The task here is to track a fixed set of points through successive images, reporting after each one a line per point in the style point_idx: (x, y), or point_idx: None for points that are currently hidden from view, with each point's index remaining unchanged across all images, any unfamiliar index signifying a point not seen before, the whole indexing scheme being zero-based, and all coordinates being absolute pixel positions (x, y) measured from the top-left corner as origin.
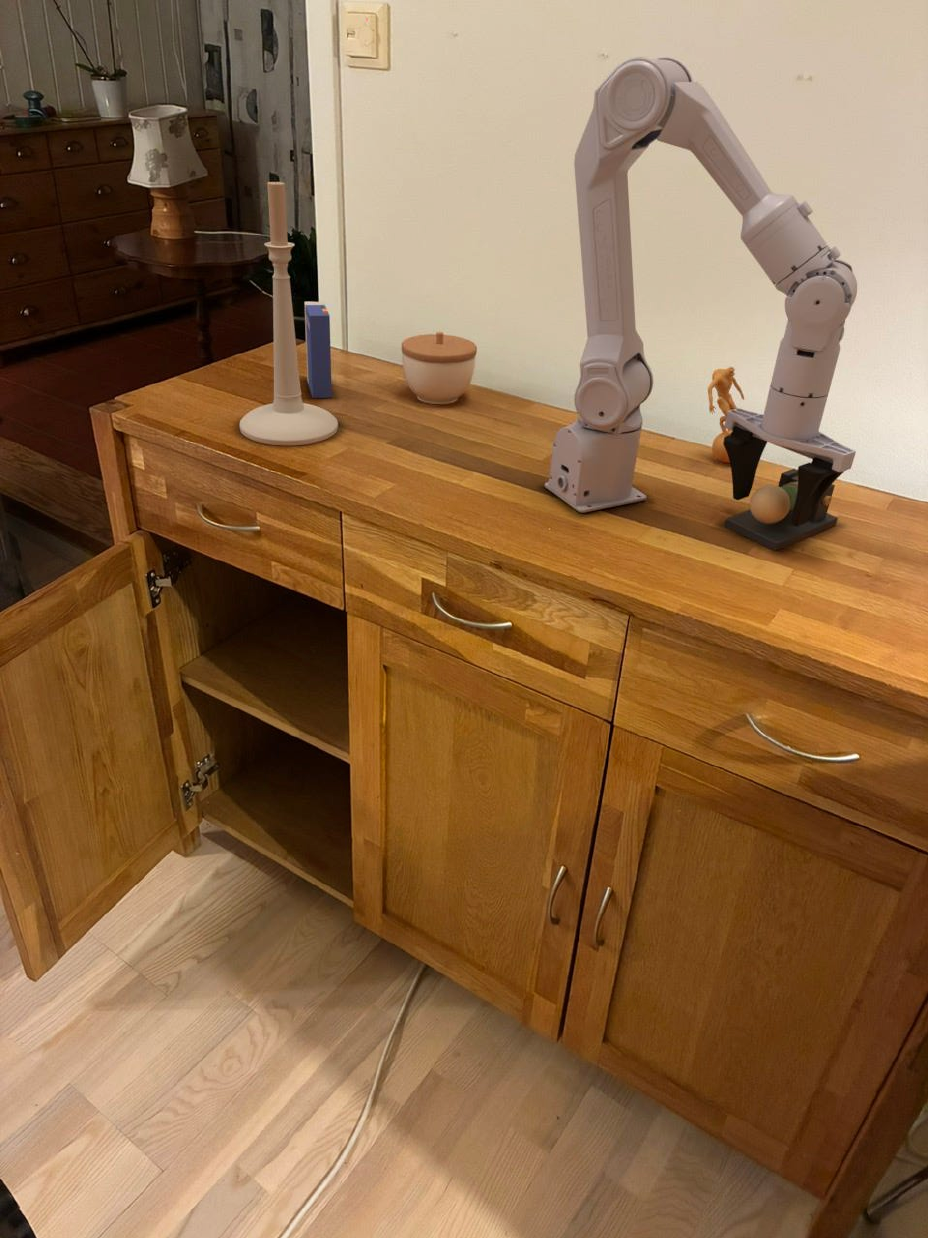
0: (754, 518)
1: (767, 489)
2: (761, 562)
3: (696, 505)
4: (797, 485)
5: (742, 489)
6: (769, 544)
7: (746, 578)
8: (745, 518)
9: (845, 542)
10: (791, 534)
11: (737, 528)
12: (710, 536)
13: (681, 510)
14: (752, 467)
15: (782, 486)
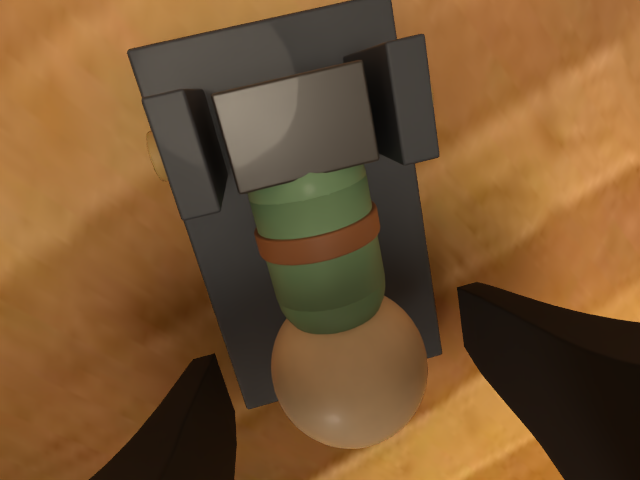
0: (278, 322)
1: (363, 440)
2: (458, 406)
3: (77, 392)
4: (343, 243)
5: (229, 428)
6: None
7: (496, 475)
8: (270, 352)
9: (487, 77)
10: (420, 279)
11: None
12: (288, 452)
13: (104, 451)
14: (197, 461)
15: (311, 305)
